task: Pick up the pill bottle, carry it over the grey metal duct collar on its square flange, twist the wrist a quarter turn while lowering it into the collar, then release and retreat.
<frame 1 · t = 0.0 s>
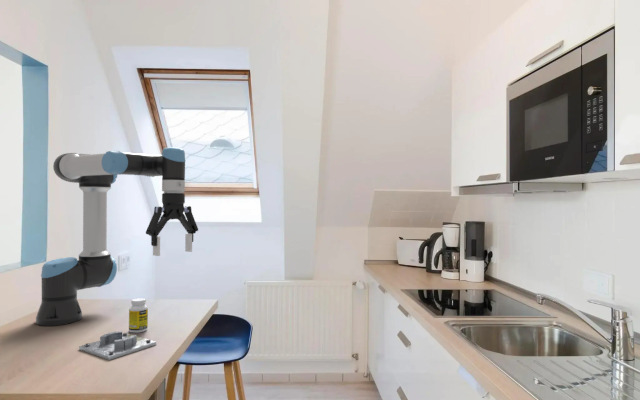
hand: (173, 253, 150), 28 cm above the counter, fingers open, 13 cm apart
pill bottle: (138, 331, 154), on the counter
duct collar: (118, 347, 137), on the counter
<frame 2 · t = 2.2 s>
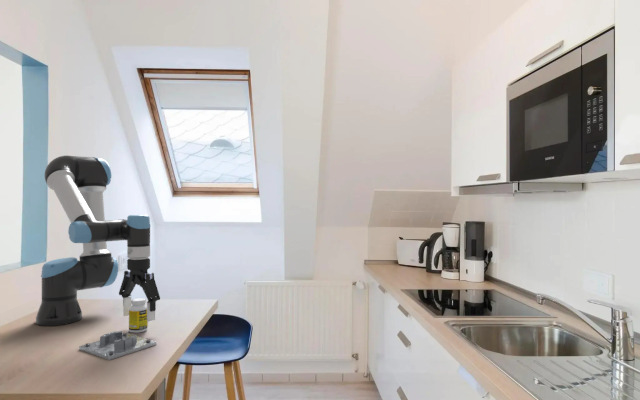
hand: (139, 317, 154), 5 cm above the counter, fingers open, 13 cm apart
nothing on the counter moved.
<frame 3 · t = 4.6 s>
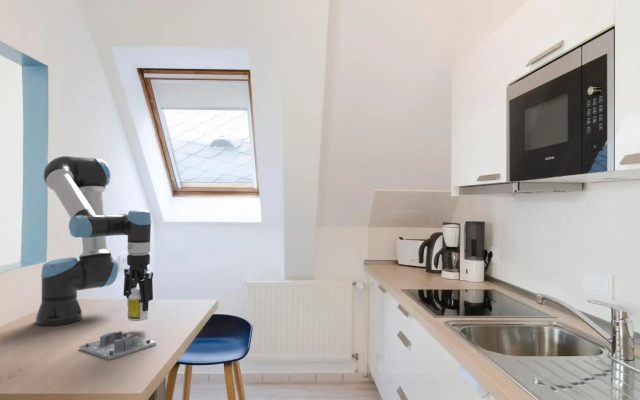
hand: (137, 318, 154), 4 cm above the counter, fingers closed on pill bottle, 6 cm apart
pill bottle: (137, 319, 154), point 4 cm above the counter, touching gripper
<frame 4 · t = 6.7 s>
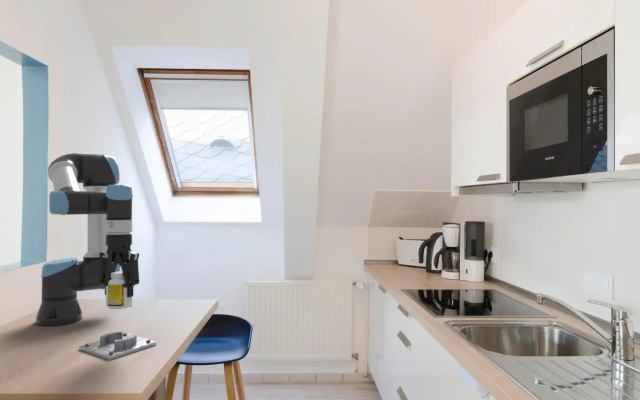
hand: (118, 306, 137), 13 cm above the counter, fingers closed on pill bottle, 6 cm apart
pill bottle: (118, 307, 137), point 12 cm above the counter, touching gripper
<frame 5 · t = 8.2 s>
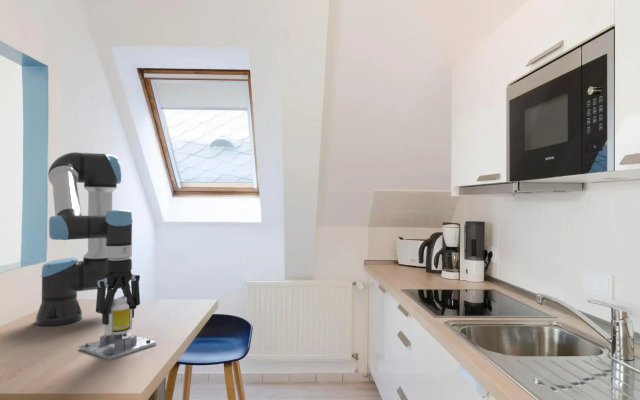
hand: (118, 331, 137), 5 cm above the counter, fingers closed on pill bottle, 6 cm apart
pill bottle: (118, 333, 137), point 4 cm above the counter, touching gripper
when the fingers open (3 cm above the counter, at t = 9.3 s): pill bottle drops 2 cm, resting on duct collar.
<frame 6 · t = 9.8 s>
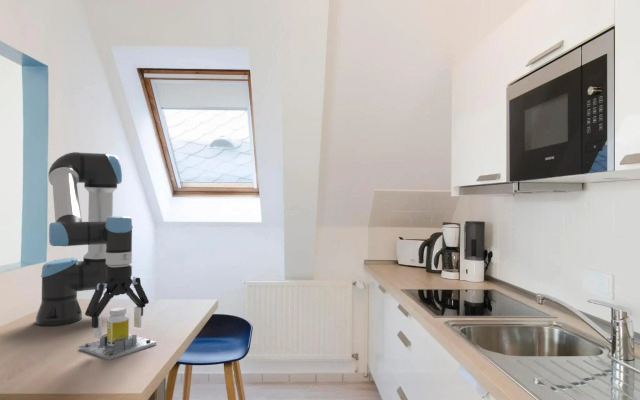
hand: (118, 332, 137), 5 cm above the counter, fingers open, 13 cm apart
pill bottle: (117, 344, 137), point 1 cm above the counter, touching duct collar
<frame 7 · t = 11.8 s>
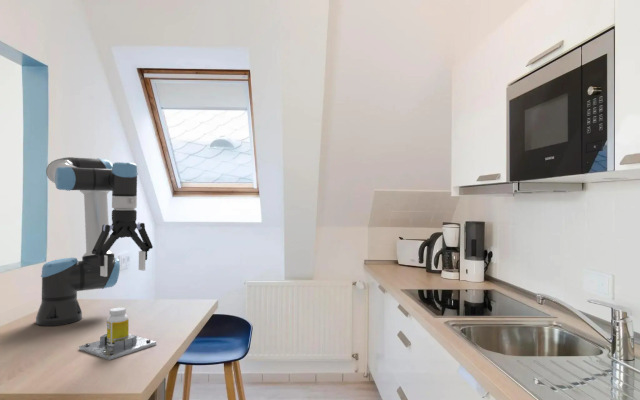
hand: (123, 273, 144), 22 cm above the counter, fingers open, 13 cm apart
nothing on the counter moved.
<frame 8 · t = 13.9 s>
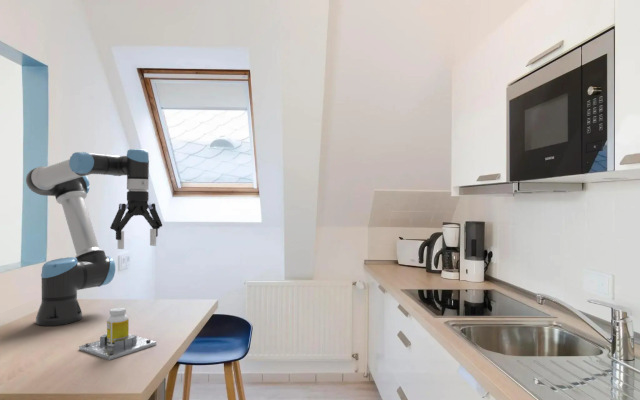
hand: (137, 247, 162), 29 cm above the counter, fingers open, 13 cm apart
nothing on the counter moved.
at the end: pill bottle 0.2 cm off-centre on the duct collar, point 0.8 cm above the duct collar's base; pill bottle tilted 0°; the gripper is holding nothing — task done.
